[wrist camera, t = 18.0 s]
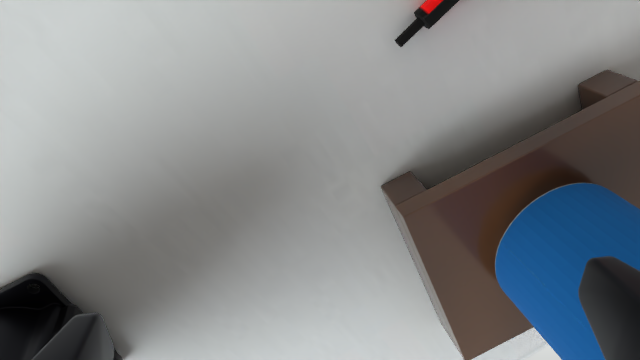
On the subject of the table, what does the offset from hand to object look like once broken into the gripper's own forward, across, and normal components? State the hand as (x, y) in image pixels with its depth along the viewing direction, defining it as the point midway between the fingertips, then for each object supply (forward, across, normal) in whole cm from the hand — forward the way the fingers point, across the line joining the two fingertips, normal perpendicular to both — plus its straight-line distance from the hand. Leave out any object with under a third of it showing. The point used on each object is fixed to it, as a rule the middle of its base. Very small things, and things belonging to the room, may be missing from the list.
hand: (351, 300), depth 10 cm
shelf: (+14, -11, +9) cm, 20 cm away
